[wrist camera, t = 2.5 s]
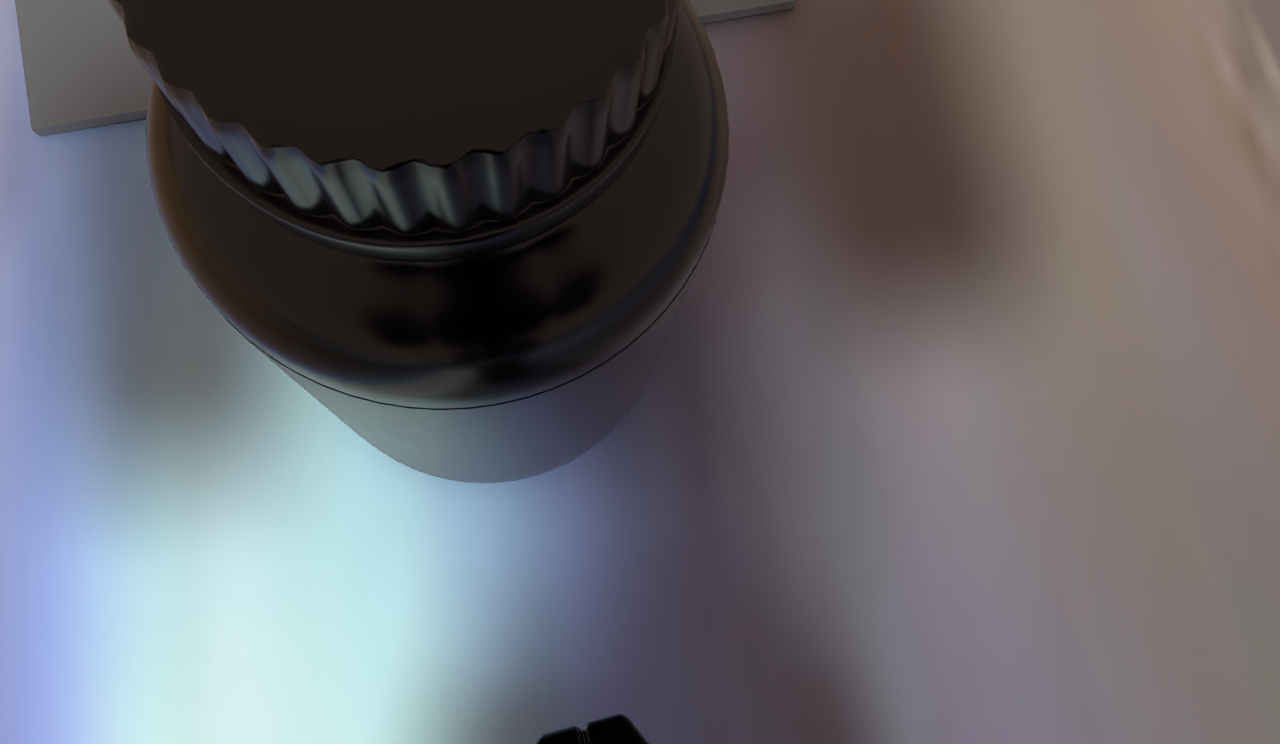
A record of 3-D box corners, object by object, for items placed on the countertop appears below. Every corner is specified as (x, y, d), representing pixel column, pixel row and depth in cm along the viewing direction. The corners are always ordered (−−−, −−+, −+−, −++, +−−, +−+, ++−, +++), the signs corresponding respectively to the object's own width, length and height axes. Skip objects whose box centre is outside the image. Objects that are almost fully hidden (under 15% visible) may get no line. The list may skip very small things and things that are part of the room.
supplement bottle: (726, 332, 20) (985, -31, 8) (470, 560, 18) (331, 521, 7) (506, 96, 20) (450, -555, 9) (242, 299, 19) (-250, -157, 7)
